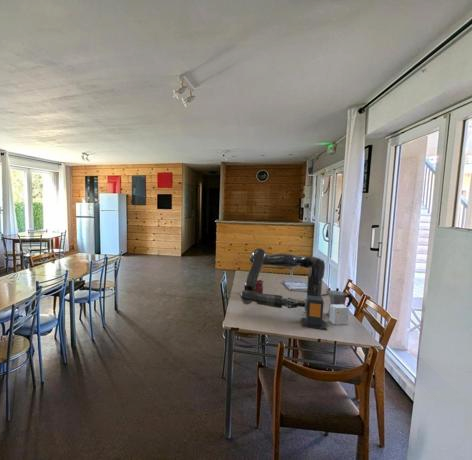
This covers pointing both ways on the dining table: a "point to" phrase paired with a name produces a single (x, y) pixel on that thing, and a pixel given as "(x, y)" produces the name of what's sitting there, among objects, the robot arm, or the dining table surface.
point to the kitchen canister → (259, 285)
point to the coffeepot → (338, 298)
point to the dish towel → (295, 285)
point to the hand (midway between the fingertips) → (304, 305)
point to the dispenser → (314, 313)
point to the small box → (339, 314)
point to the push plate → (305, 305)
